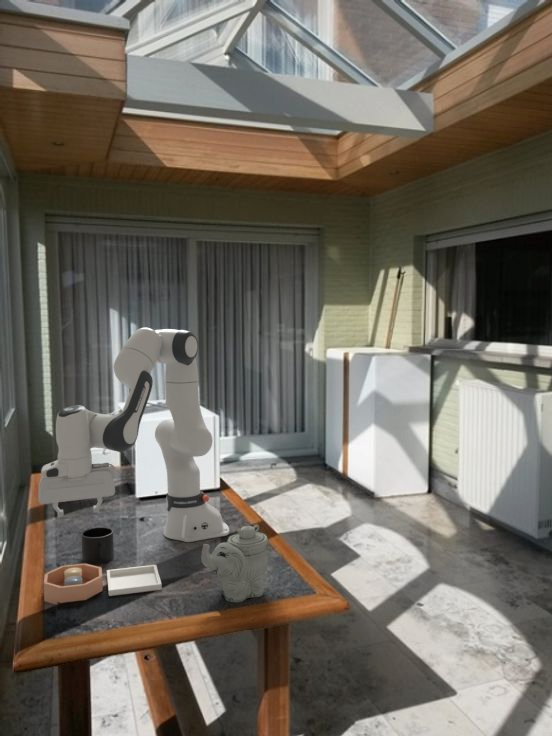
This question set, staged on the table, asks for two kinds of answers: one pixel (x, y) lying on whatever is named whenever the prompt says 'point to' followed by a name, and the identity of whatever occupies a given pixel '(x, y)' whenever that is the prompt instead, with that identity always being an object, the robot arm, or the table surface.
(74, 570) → the sand pebble
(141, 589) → the tray
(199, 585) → the table surface
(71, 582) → the slate pebble
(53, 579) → the bowl
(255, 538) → the teapot
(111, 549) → the mug
